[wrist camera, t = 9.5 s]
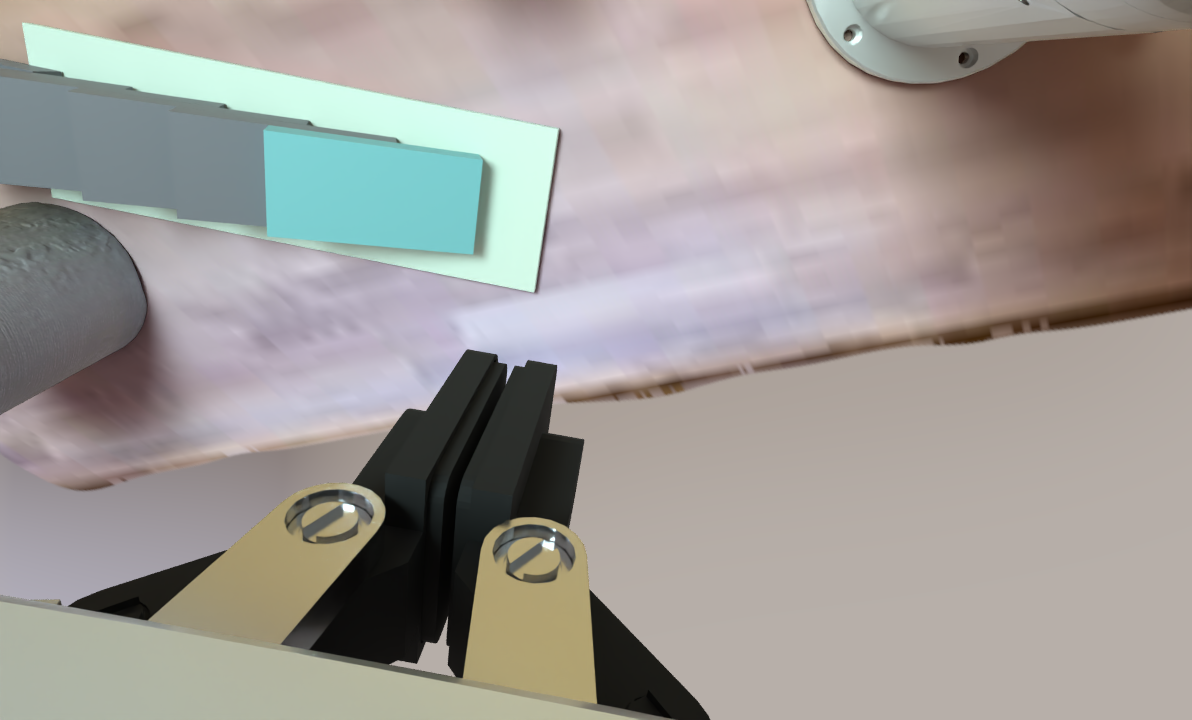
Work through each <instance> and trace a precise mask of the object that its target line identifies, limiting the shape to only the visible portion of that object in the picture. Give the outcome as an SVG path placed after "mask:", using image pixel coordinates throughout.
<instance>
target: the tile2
mask: <svg viewBox="0 0 1192 720" xmlns="http://www.w3.org/2000/svg"><path fill="white" fill-rule="evenodd" d="M167 113H168V124H169V135H170V145H171V156H172V167H173V177H174V188H175V199H176V209H177V219H187V220H198V221H208V222H219V223H230V224H241V225H252V226H262V227H267V217H266V188H265V160H264V131H263V130H264V129H265V128H266V127H267V126H268V125H272V126H279V127H286V128H293V129H301V130H308V131H315V132H322V133H329V134H337V135H344V136H351V137H358V138H365V139H372V140H380V141H387V142H394V143H396V138H394V137H387V136H380V135H373V134H366V133H359V132H352V131H345V130H338V129H331V128H324V127H317V126H310V125H302V124H295V123H288V122H281V121H274V120H267V119H260V118H253V117H246V116H239V115H232V114H225V113H218V112H211V111H203V110H196V109H189V108H182V107H175V108H173V109H171V110H168V111H167Z"/></svg>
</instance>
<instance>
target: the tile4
mask: <svg viewBox="0 0 1192 720" xmlns="http://www.w3.org/2000/svg"><path fill="white" fill-rule="evenodd" d="M77 88H85V89H92V90H99V91H106V92H113V93H120V94H127V95H134V96H141V97H148V98H155V99H162V100H169V101H176V102H183V103H190V104H197V105H204V106H211V107H218V108H225V104H224V103H217V102H210V101H203V100H196V99H189V98H182V97H175V96H168V95H161V94H154V93H147V92H141V91H134V90H127V89H120V88H113V87H106V86H99V85H92V84H85V83H78V82H71V81H64V80H57V79H50V78H43V77H36V76H29V75H22V74H16V73H9V72H2V71H0V184H10V185H20V186H31V187H41V188H51V189H62V190H72V191H81V184H80V178H79V171H78V165H77V158H76V152H75V145H74V139H73V132H72V126H71V119H70V113H69V106H68V100H67V93H66V91H69V90H73V89H77Z"/></svg>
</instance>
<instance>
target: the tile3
mask: <svg viewBox="0 0 1192 720" xmlns="http://www.w3.org/2000/svg"><path fill="white" fill-rule="evenodd" d="M66 93H67V100H68V106H69V113H70V119H71V126H72V132H73V139H74V145H75V152H76V158H77V165H78V171H79V178H80V184H81V191H82V197H83V201H93V202H104V203H115V204H125V205H136V206H146V207H157V208H168V209H176V199H175V188H174V177H173V167H172V156H171V145H170V135H169V124H168V113H167V111H168V110H171V109H173V108H175V107H182V108H189V109H196V110H203V111H211V112H218V113H225V114H232V115H239V116H246V117H253V118H260V119H267V120H274V121H281V122H288V123H295V124H302V125H309V120H302V119H295V118H288V117H281V116H274V115H267V114H260V113H253V112H246V111H239V110H232V109H225V108H218V107H211V106H204V105H197V104H190V103H183V102H176V101H169V100H162V99H155V98H148V97H141V96H134V95H127V94H120V93H113V92H106V91H99V90H92V89H85V88H77V89H73V90H69V91H66Z"/></svg>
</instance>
